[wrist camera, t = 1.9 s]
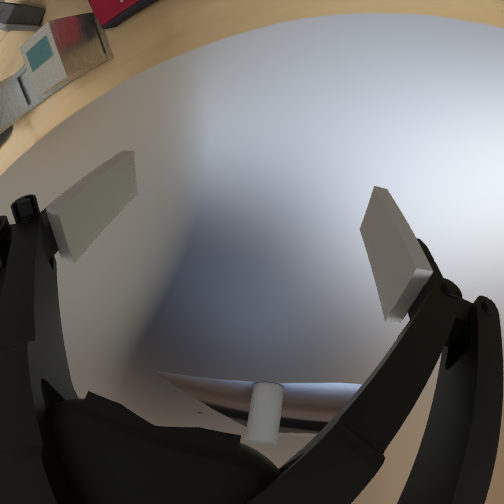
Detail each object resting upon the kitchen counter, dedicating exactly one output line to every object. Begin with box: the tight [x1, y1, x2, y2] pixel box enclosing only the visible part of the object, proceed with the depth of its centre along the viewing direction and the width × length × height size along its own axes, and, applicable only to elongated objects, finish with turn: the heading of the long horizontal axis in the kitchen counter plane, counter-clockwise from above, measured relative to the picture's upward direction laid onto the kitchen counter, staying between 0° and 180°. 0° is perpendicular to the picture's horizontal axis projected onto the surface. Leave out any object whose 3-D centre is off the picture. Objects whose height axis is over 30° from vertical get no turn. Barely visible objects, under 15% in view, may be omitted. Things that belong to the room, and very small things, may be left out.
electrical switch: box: [0, 2, 45, 31], centre depth 16 cm, size 9×5×9 cm, turn 56°
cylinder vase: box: [245, 382, 284, 444], centre depth 99 cm, size 12×12×25 cm
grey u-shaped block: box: [0, 12, 113, 133], centre depth 24 cm, size 8×25×10 cm, turn 103°
